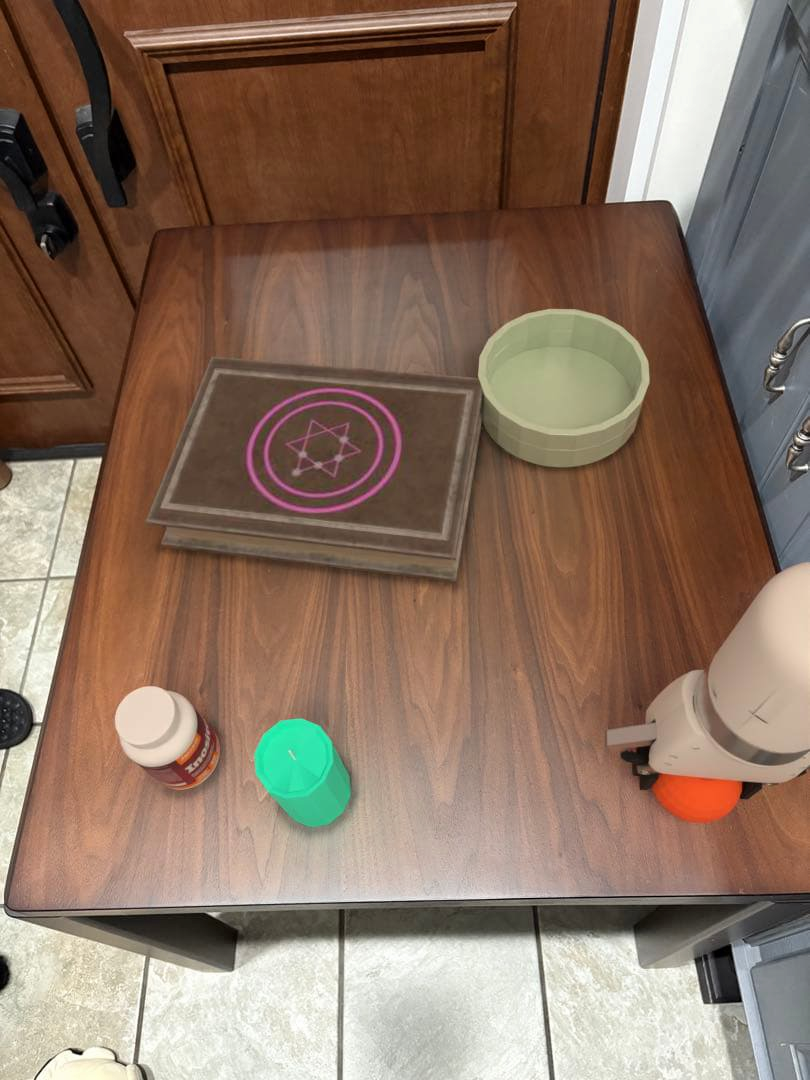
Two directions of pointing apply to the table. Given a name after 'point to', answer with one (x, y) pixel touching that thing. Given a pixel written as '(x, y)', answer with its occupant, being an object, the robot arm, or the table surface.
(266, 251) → the table surface
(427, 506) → the book
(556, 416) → the bowl
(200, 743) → the pill bottle
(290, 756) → the candle
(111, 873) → the table surface
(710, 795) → the clementine
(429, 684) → the table surface
